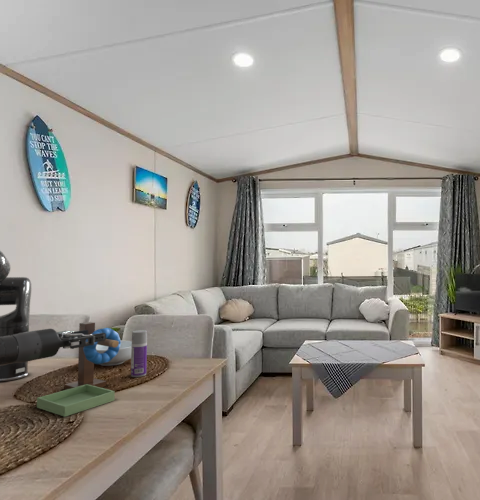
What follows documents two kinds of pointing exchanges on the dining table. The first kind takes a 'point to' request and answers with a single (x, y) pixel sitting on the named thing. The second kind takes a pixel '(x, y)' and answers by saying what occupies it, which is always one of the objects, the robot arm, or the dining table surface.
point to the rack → (86, 366)
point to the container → (139, 353)
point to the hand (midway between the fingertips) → (96, 334)
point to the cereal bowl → (121, 356)
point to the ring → (109, 354)
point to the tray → (75, 399)
